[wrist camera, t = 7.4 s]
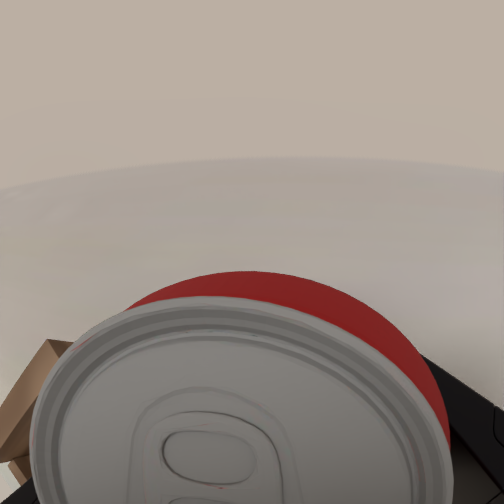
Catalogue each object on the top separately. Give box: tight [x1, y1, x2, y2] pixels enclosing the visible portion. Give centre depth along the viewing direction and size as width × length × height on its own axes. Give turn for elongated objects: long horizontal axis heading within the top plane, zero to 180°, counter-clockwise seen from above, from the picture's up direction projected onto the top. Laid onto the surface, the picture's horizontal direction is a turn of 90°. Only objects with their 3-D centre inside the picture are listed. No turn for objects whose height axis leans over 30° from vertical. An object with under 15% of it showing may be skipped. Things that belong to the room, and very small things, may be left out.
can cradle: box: [0, 339, 74, 486], centre depth 13 cm, size 6×12×4 cm, turn 136°
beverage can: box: [29, 271, 454, 504], centre depth 8 cm, size 7×7×12 cm
